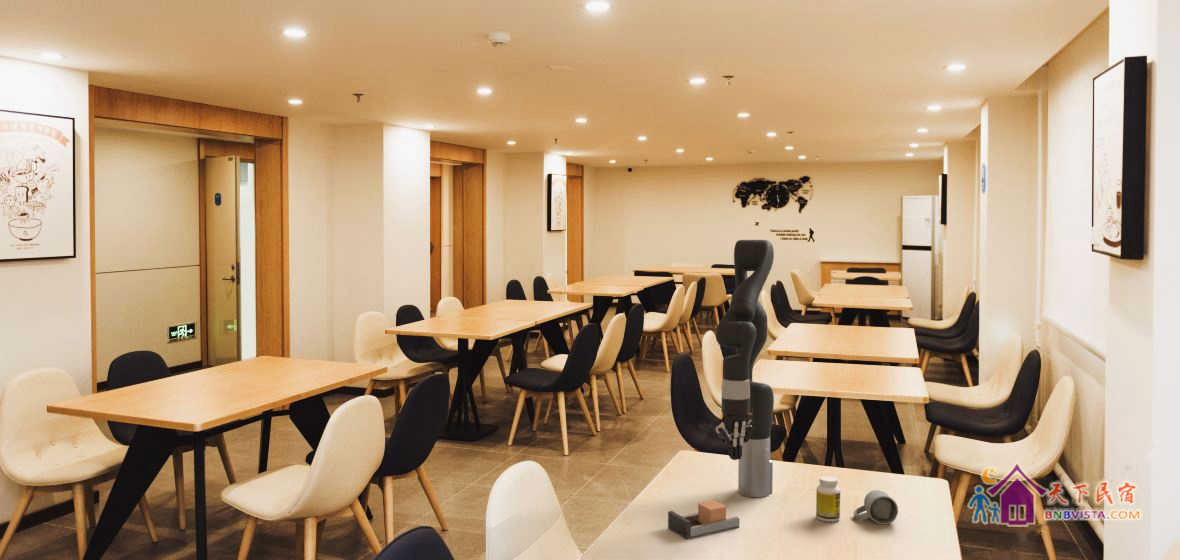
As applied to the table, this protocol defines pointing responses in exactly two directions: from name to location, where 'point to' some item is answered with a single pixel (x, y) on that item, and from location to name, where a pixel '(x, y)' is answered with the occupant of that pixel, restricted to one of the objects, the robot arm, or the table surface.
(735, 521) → the chute
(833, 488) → the pill bottle
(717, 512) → the block
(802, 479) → the table surface
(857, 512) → the ceramic mug
